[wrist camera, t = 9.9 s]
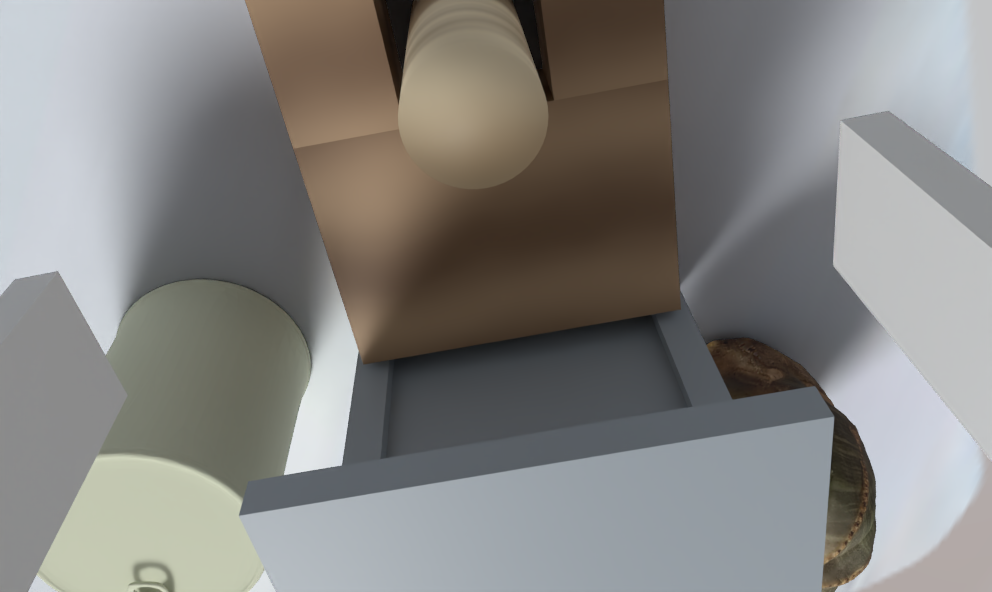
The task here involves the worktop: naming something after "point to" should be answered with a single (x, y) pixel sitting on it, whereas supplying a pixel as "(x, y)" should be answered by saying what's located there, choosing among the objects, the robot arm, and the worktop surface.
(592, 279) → the socket block
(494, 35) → the peg
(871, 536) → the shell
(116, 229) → the worktop surface
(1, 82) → the worktop surface
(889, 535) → the worktop surface
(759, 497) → the grey open drawer
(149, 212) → the worktop surface
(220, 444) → the can
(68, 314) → the robot arm
